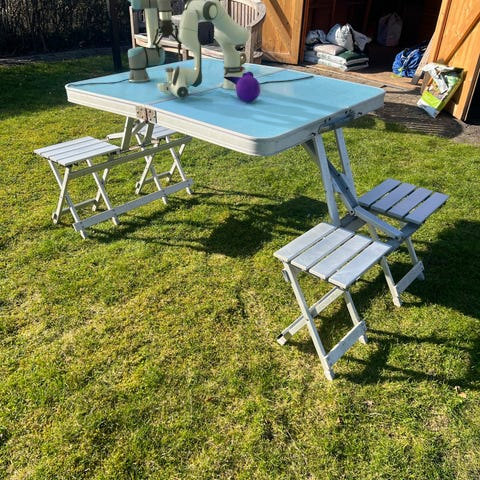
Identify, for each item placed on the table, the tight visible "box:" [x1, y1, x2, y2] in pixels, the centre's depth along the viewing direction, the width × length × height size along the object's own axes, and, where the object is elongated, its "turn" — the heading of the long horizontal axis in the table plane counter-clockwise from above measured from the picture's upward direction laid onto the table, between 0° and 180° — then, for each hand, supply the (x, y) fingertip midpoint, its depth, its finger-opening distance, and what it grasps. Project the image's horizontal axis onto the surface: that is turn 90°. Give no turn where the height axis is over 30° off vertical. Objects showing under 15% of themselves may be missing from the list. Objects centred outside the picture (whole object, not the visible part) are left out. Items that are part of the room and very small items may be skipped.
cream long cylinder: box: [165, 71, 173, 96], centre depth 296 cm, size 4×4×16 cm
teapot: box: [222, 52, 247, 67], centre depth 367 cm, size 21×12×15 cm, turn 120°
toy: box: [223, 71, 261, 103], centre depth 276 cm, size 16×18×27 cm
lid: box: [165, 66, 174, 73], centre depth 292 cm, size 5×5×2 cm
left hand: (169, 56), depth 290 cm, fingers open, 13 cm apart
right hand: (170, 83), depth 297 cm, fingers closed on cream long cylinder, 5 cm apart
